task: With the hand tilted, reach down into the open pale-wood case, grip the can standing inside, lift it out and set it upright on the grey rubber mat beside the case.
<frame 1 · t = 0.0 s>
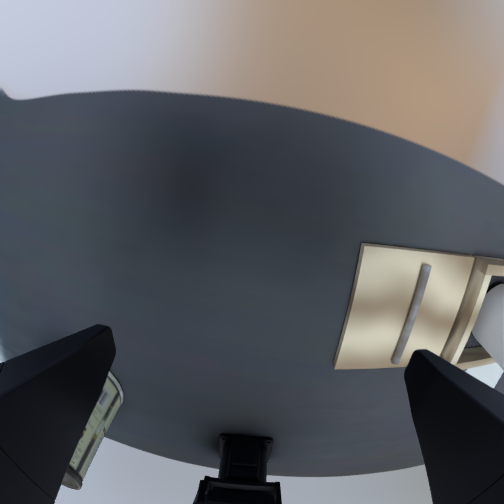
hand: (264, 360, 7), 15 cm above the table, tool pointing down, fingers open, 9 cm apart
coffee can: (89, 379, 28), on the table
can: (489, 309, 23), resting in case
mat: (475, 384, 26), on the table
case: (490, 310, 23), on the table
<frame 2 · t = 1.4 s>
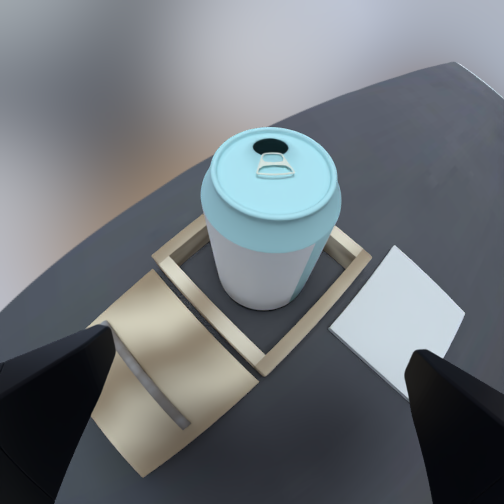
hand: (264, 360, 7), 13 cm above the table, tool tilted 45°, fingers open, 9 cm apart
can: (262, 271, 23), resting in case
mat: (404, 322, 21), on the table
case: (262, 270, 23), on the table
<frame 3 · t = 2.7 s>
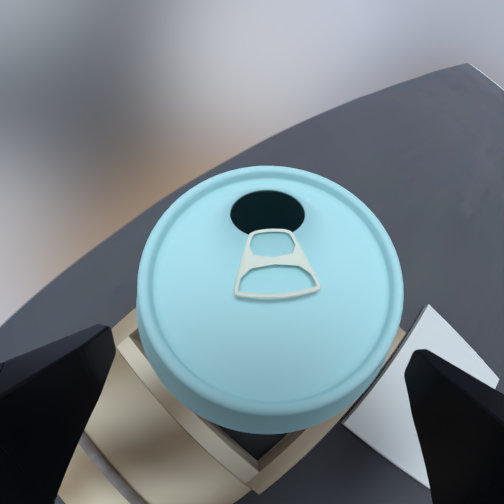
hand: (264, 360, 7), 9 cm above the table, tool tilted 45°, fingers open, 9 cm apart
can: (257, 349, 17), resting in case
mat: (433, 402, 14), on the table
case: (257, 348, 16), on the table
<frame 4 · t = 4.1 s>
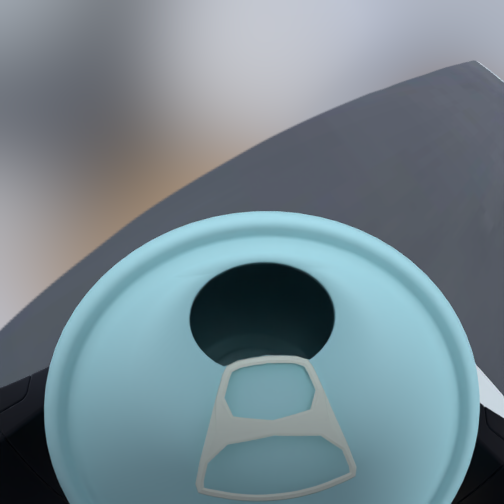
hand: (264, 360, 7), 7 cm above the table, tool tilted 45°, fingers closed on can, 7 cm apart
can: (253, 397, 13), resting in case, touching gripper
mat: (448, 443, 11), on the table
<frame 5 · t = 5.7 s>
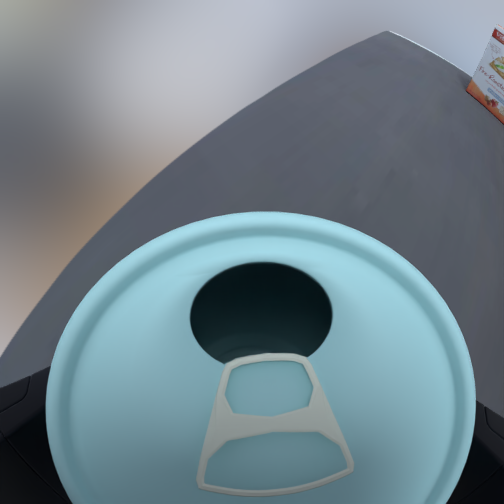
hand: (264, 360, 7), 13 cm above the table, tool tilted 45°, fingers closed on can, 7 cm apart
can: (251, 396, 13), point 6 cm above the table, touching gripper
cracker box: (490, 109, 40), on the table
when the fingers open (9 cm above the table, at t = 7.4 s): can stays where it is, resting on mat.
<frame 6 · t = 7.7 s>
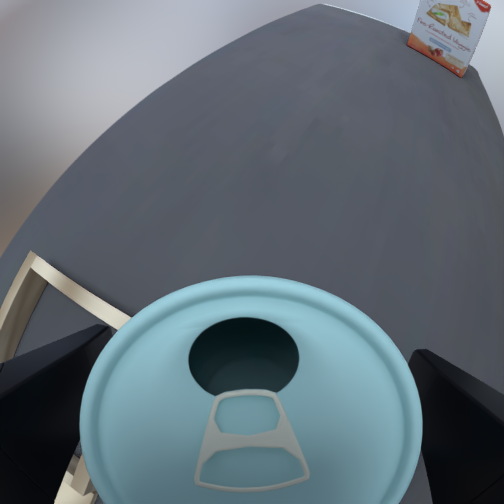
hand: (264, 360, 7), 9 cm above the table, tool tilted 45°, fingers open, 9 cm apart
can: (252, 401, 14), resting on mat
case: (61, 371, 15), on the table
cracker box: (436, 60, 40), on the table
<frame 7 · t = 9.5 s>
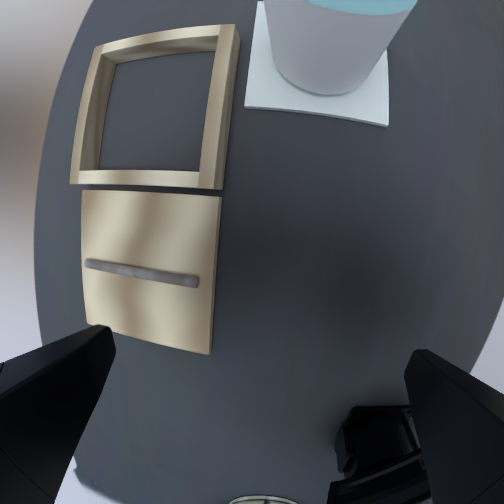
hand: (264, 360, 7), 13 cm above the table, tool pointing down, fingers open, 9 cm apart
can: (321, 56, 16), resting on mat
mat: (320, 55, 17), on the table
case: (155, 109, 19), on the table
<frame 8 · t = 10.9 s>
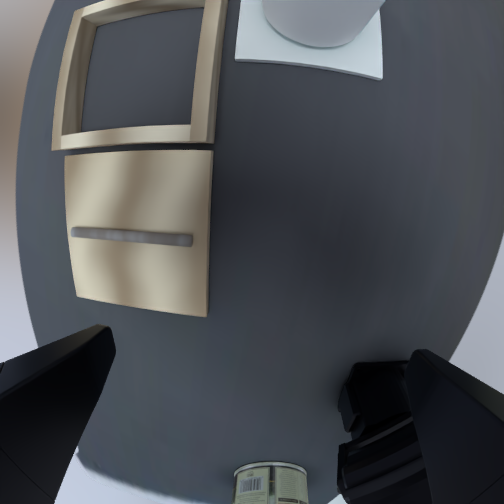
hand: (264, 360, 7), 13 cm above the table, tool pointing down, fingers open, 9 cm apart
coffee can: (270, 474, 31), on the table
can: (313, 11, 14), resting on mat
mat: (311, 11, 14), on the table
case: (140, 67, 16), on the table
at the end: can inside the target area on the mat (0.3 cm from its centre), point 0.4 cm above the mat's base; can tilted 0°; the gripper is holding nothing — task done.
